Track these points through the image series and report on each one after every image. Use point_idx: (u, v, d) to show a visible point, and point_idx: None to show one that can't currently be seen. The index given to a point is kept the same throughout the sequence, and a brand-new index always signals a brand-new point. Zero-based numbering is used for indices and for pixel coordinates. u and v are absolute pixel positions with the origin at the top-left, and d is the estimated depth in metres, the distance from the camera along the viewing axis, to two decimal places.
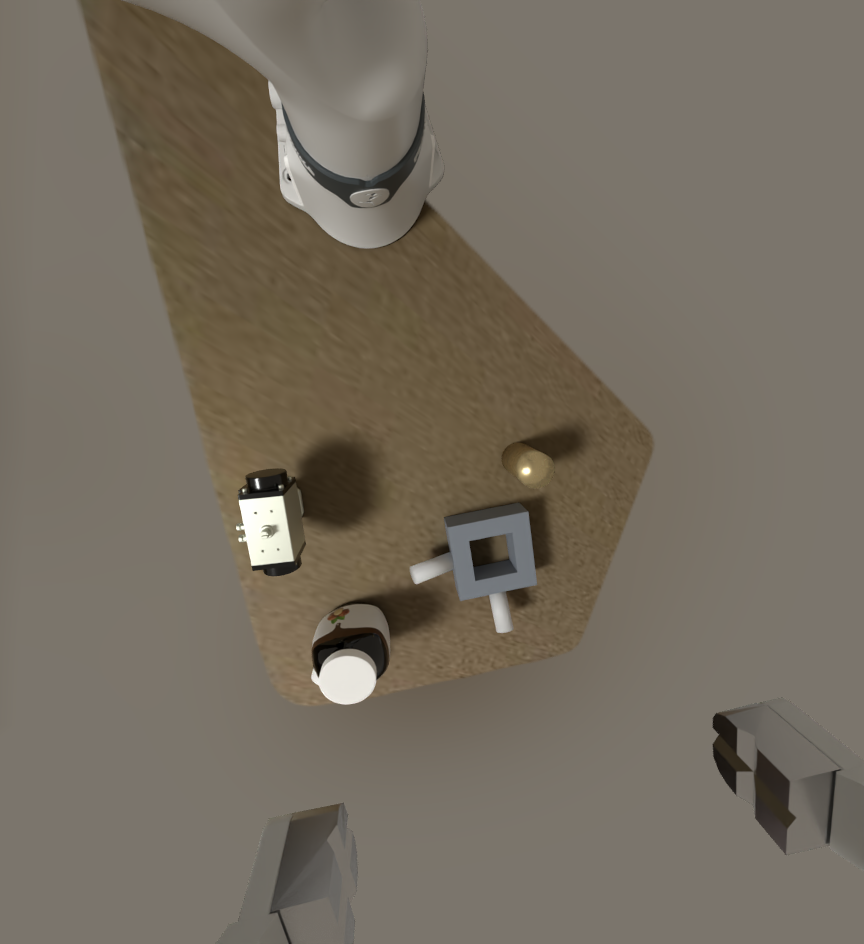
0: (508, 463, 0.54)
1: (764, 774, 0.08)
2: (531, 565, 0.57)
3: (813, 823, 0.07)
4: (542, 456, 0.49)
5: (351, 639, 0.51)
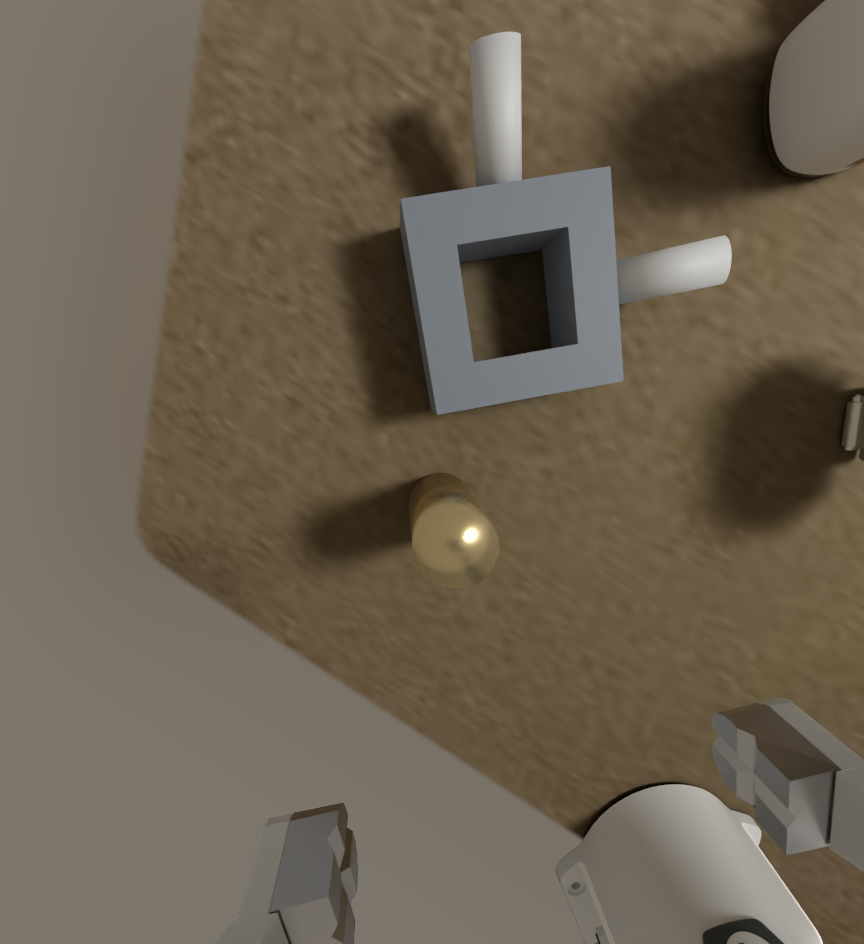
0: None
1: (764, 774, 0.08)
2: (420, 263, 0.21)
3: (813, 823, 0.07)
4: (445, 582, 0.21)
5: None
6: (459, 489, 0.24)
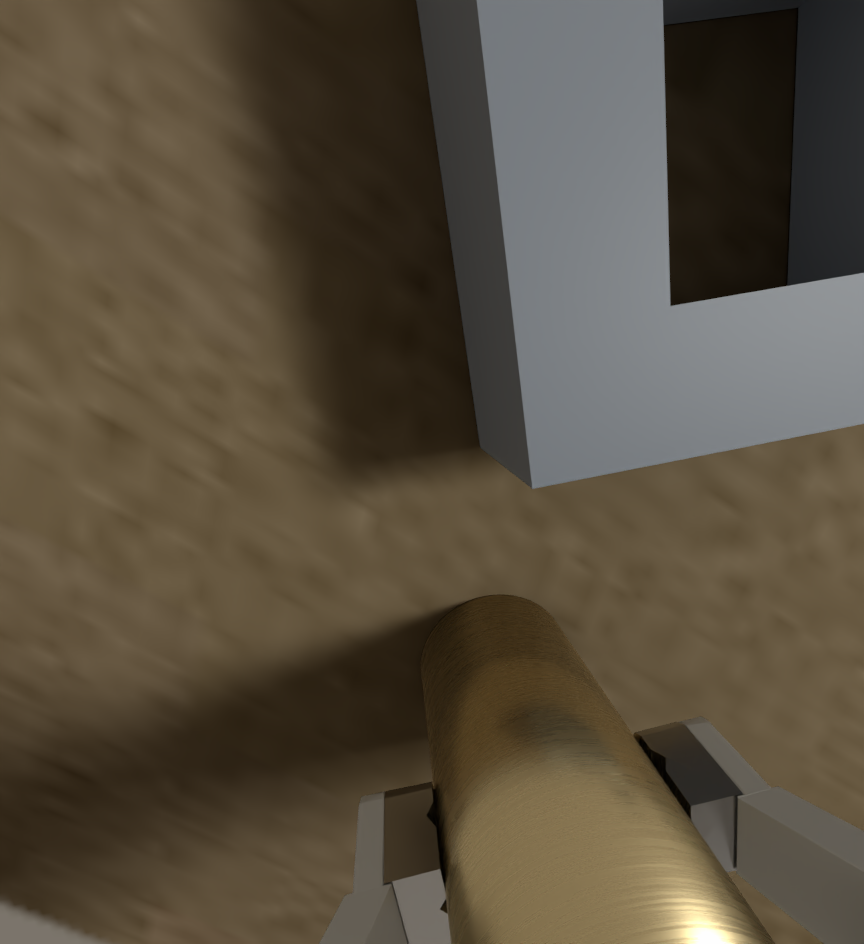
0: None
1: None
2: None
3: (718, 848, 0.07)
4: None
5: None
6: (585, 703, 0.08)
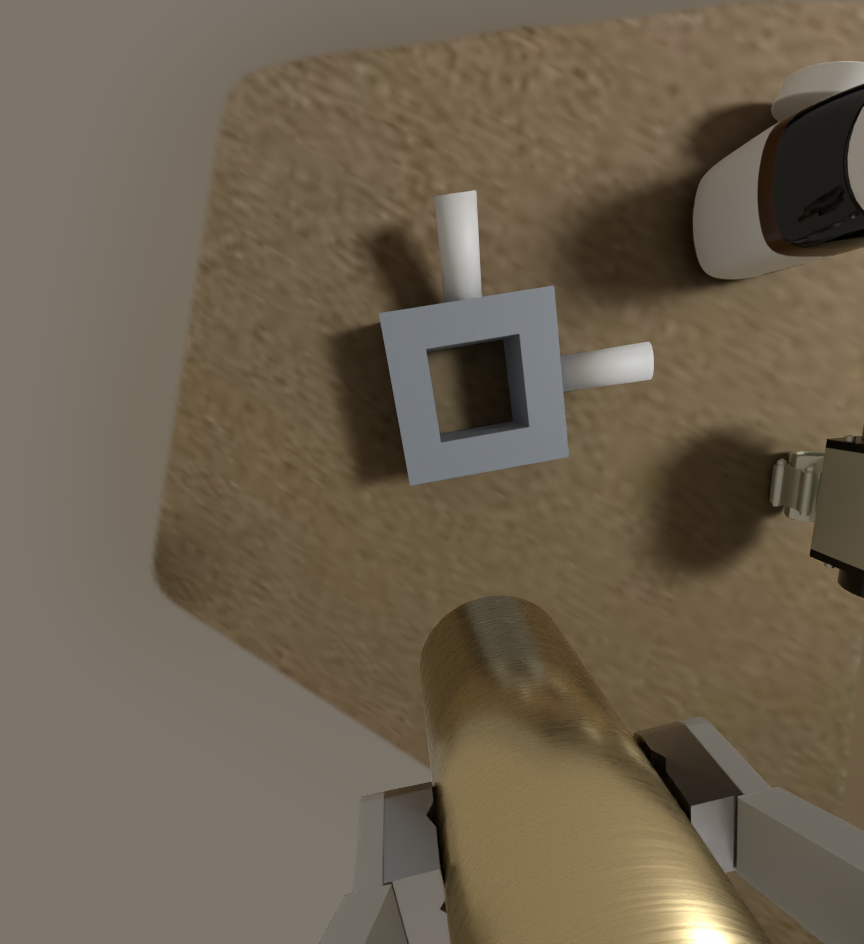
0: None
1: None
2: (395, 363, 0.26)
3: (718, 848, 0.07)
4: None
5: (857, 239, 0.22)
6: (584, 704, 0.08)
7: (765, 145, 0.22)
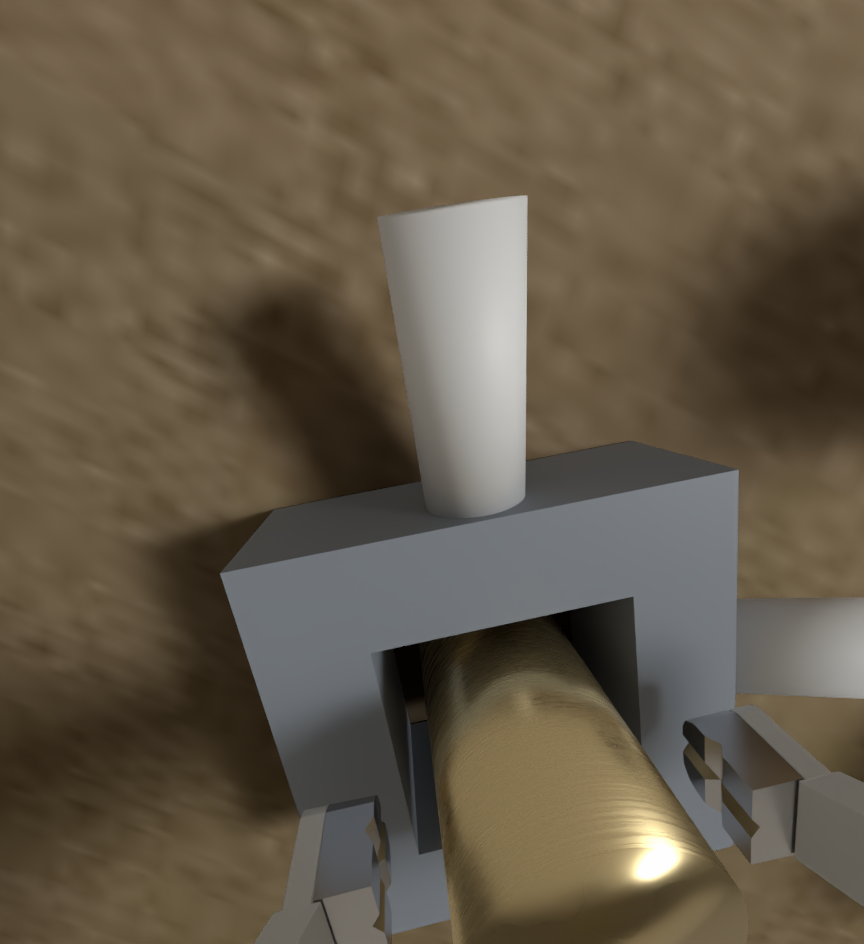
0: None
1: (729, 783, 0.08)
2: (282, 696, 0.09)
3: (777, 832, 0.07)
4: None
5: None
6: (556, 654, 0.09)
7: None
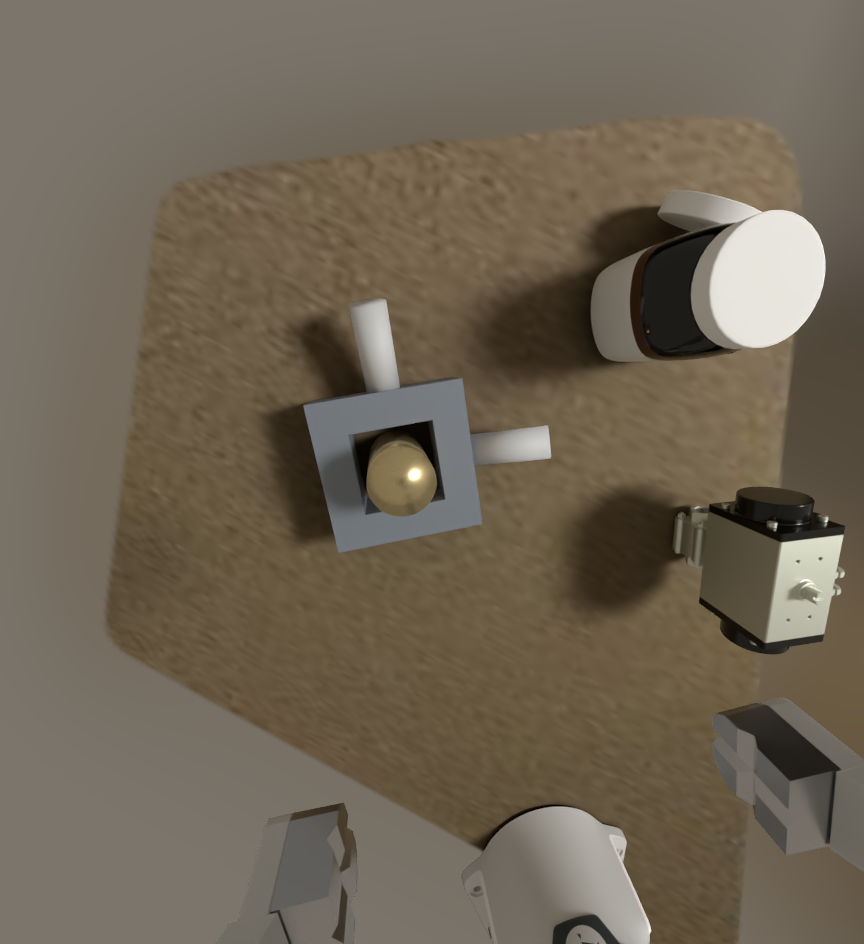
0: None
1: (764, 774, 0.08)
2: (320, 448, 0.28)
3: (813, 823, 0.07)
4: (393, 510, 0.26)
5: (710, 353, 0.25)
6: (409, 439, 0.29)
7: (634, 270, 0.25)
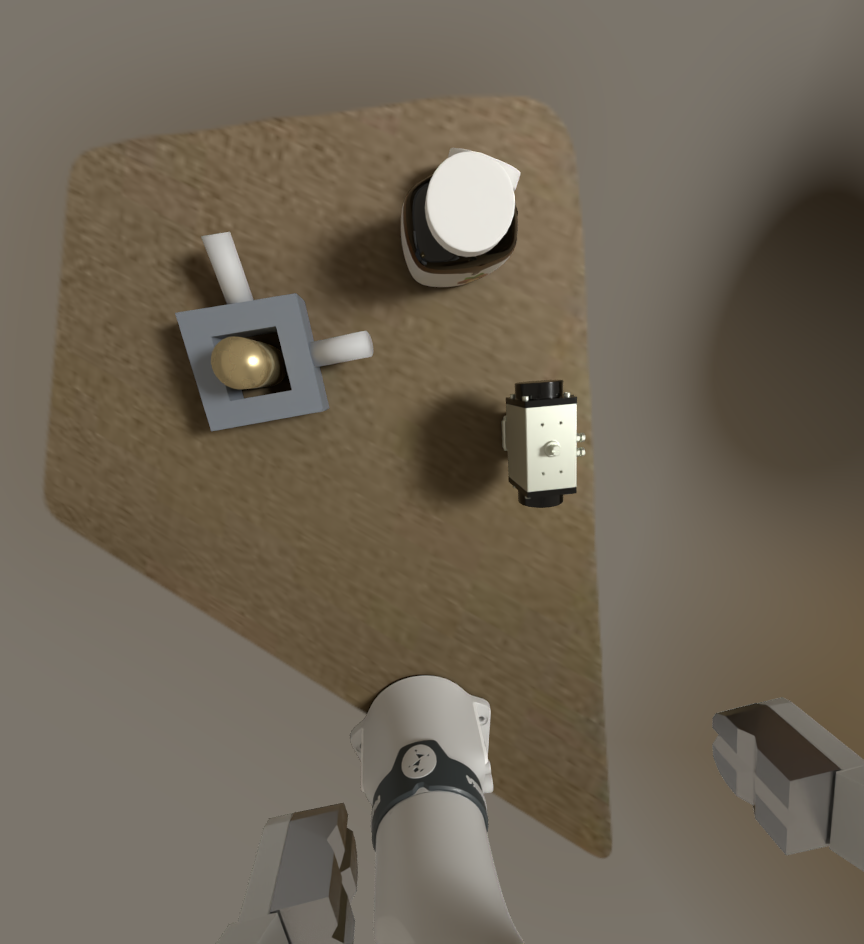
0: (278, 364, 0.40)
1: (764, 774, 0.08)
2: (190, 347, 0.38)
3: (813, 823, 0.07)
4: (233, 384, 0.36)
5: (460, 264, 0.34)
6: None
7: (403, 204, 0.35)
